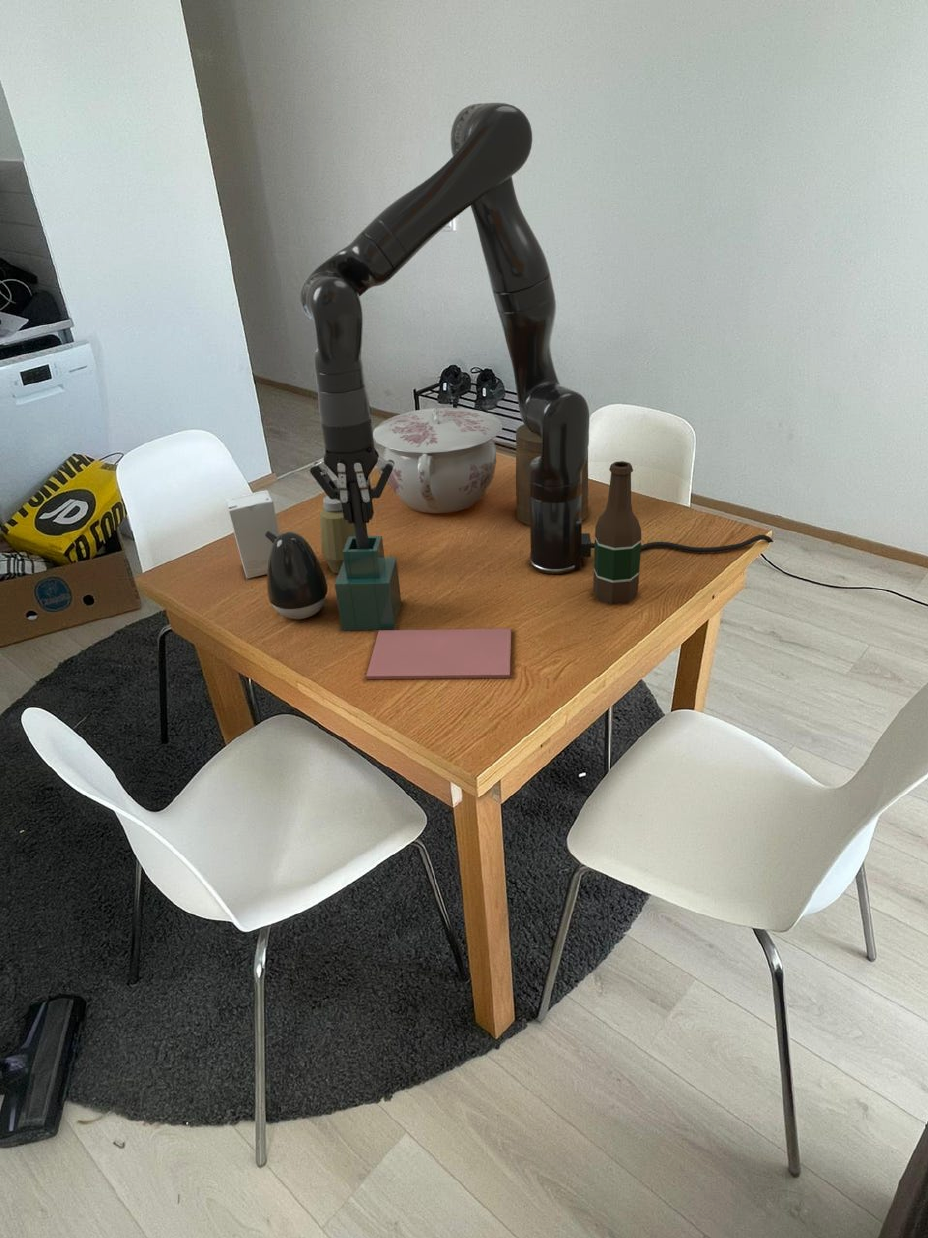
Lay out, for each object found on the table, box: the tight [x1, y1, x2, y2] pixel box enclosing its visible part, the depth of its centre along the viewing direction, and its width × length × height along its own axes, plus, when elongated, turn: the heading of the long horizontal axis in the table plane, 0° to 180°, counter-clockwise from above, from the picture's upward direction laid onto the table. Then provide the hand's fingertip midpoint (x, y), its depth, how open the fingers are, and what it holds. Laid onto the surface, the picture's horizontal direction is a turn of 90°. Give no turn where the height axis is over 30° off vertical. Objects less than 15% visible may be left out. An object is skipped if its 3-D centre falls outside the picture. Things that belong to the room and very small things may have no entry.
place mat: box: [365, 628, 512, 680], centre depth 131 cm, size 22×13×1 cm, turn 86°
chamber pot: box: [373, 406, 503, 514], centre depth 177 cm, size 28×28×21 cm
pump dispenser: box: [265, 531, 329, 620], centre depth 141 cm, size 10×10×15 cm
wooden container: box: [515, 423, 590, 526], centre depth 168 cm, size 15×15×22 cm
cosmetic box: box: [225, 489, 281, 580], centre depth 156 cm, size 8×6×15 cm
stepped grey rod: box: [348, 481, 369, 549], centre depth 136 cm, size 2×3×25 cm
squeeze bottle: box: [319, 477, 355, 574], centre depth 153 cm, size 8×8×18 cm
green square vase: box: [334, 535, 402, 631], centre depth 139 cm, size 9×9×14 cm
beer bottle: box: [592, 460, 642, 606], centre depth 138 cm, size 8×8×24 cm
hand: (359, 520), depth 133 cm, fingers closed on stepped grey rod, 2 cm apart
